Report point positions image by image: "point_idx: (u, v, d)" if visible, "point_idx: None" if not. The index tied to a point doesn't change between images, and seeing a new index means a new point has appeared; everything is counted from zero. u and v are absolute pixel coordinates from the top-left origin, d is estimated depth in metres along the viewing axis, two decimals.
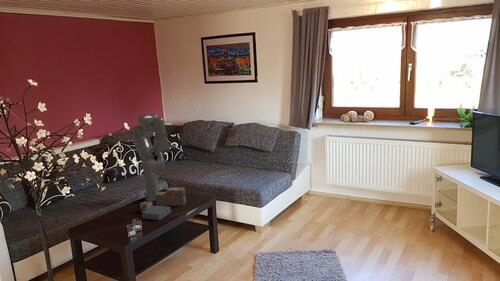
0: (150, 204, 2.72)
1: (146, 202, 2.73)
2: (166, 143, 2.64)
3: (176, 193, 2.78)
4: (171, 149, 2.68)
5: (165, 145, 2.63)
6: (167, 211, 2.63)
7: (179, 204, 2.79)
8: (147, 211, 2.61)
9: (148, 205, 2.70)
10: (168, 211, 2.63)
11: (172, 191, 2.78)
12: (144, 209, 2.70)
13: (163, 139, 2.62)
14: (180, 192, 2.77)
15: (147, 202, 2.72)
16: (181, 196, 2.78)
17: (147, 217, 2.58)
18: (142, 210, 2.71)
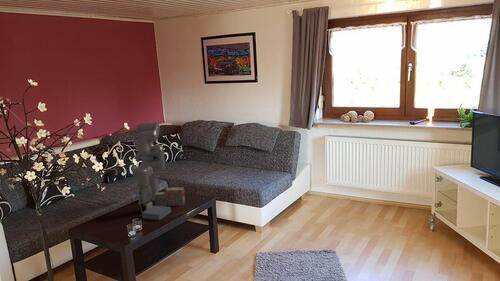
0: (150, 204, 2.72)
1: (146, 202, 2.73)
2: None
3: (175, 193, 2.78)
4: None
5: None
6: (167, 211, 2.63)
7: (178, 204, 2.79)
8: (147, 211, 2.61)
9: (148, 205, 2.70)
10: (168, 211, 2.63)
11: (171, 191, 2.78)
12: None
13: None
14: (179, 192, 2.78)
15: (146, 202, 2.72)
16: (180, 196, 2.78)
17: (147, 217, 2.58)
18: None
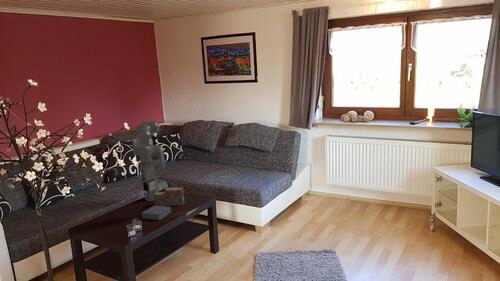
0: (152, 183, 2.63)
1: (148, 181, 2.64)
2: None
3: (175, 193, 2.78)
4: None
5: None
6: (167, 211, 2.63)
7: (178, 204, 2.80)
8: (147, 211, 2.61)
9: (150, 184, 2.61)
10: (168, 211, 2.63)
11: (171, 191, 2.78)
12: None
13: None
14: (179, 191, 2.78)
15: (149, 181, 2.63)
16: (180, 196, 2.78)
17: (147, 217, 2.58)
18: None
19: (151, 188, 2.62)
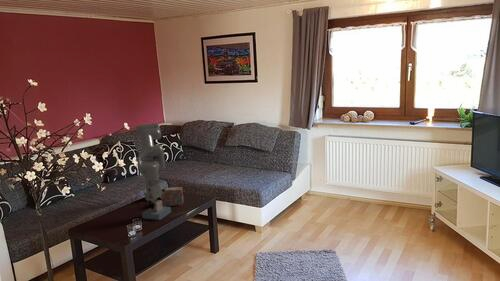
0: (159, 203, 2.61)
1: (155, 201, 2.62)
2: None
3: (174, 193, 2.79)
4: None
5: None
6: (167, 211, 2.63)
7: (177, 204, 2.80)
8: (147, 211, 2.61)
9: (157, 204, 2.59)
10: (168, 211, 2.63)
11: (170, 191, 2.79)
12: None
13: None
14: (178, 191, 2.79)
15: (156, 201, 2.61)
16: (179, 196, 2.79)
17: (147, 217, 2.58)
18: (151, 209, 2.60)
19: (158, 208, 2.60)
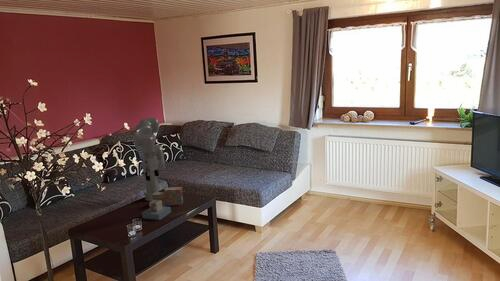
0: (159, 203, 2.61)
1: (155, 201, 2.62)
2: None
3: (174, 193, 2.79)
4: None
5: None
6: (167, 211, 2.63)
7: (177, 203, 2.81)
8: (147, 211, 2.61)
9: (157, 204, 2.59)
10: (168, 211, 2.63)
11: (170, 191, 2.79)
12: (153, 208, 2.59)
13: None
14: (178, 191, 2.79)
15: (156, 201, 2.61)
16: (179, 195, 2.79)
17: (147, 217, 2.58)
18: (151, 209, 2.60)
19: (158, 208, 2.60)
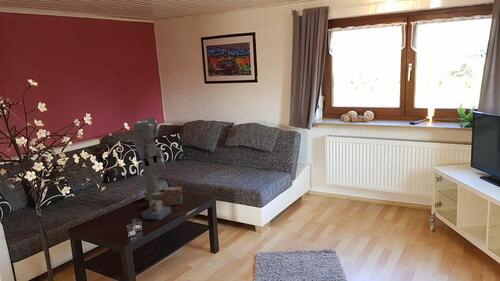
0: (159, 203, 2.61)
1: (155, 201, 2.62)
2: None
3: (173, 192, 2.79)
4: (143, 157, 2.65)
5: None
6: (167, 211, 2.63)
7: (176, 203, 2.81)
8: (147, 211, 2.61)
9: (157, 204, 2.59)
10: (168, 211, 2.63)
11: (169, 191, 2.79)
12: (153, 208, 2.59)
13: None
14: (178, 191, 2.79)
15: (156, 201, 2.61)
16: (179, 195, 2.80)
17: (147, 217, 2.58)
18: (151, 209, 2.60)
19: (158, 208, 2.60)
